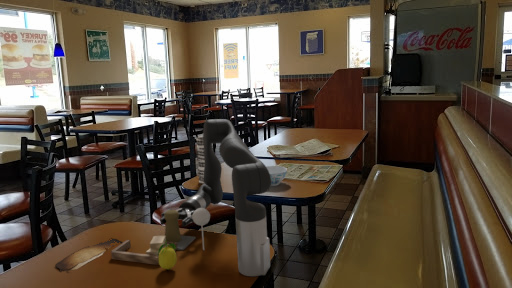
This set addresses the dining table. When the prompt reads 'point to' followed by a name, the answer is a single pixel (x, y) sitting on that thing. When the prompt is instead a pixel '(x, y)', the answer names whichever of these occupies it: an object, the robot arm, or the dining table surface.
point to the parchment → (84, 256)
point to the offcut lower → (153, 252)
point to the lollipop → (201, 219)
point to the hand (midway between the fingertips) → (172, 223)
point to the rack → (135, 254)
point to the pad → (184, 242)
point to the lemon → (167, 256)
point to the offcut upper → (157, 243)
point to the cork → (172, 226)
